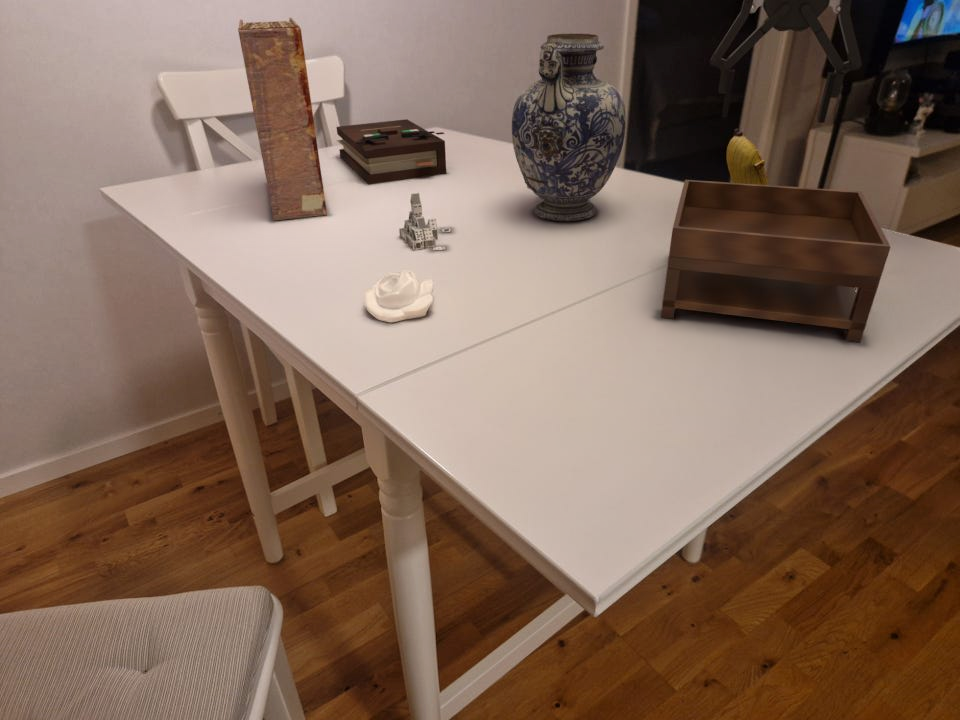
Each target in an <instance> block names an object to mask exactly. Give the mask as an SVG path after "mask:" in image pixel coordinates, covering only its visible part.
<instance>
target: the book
mask: <svg viewBox="0 0 960 720" xmlns="http://www.w3.org/2000/svg"><path fill="white" fill-rule="evenodd" d="M288 19H289V20H281V21H280V20H279V21H277V20H276V21H255V22H253V21H252V22H244V21H243V19H239V23H238V27H237V31H238V38H239V41H240V47H241V53H242V58H243V63H244V68H245V74H246V79H247V85H248V90H249V95H250V101H251V106H252V111H253V112H252V113H253V116H254V122H255V127H256V133H257V137H258V142H259V148H260V153H261V159H262V164H263V170H264V174H265V175H264V176H265V180H266V186H267V191H268V196H269V201H270V202H269V203H270V206H271V212H272V218H273V221H274V222H275V221H283V220H292V219H300V218H301V219H302V218H311V217H319V216H327V215H328V213H327V212H328V211H327V204H326V198H325V191H324V184H323V177H322V169H321V163H320V156H319V149H318V148H319V147H318V141H317V133H316V127H315V119H314V112H313V106H312V98H311V92H310V85H309V78H308V70H307V69H308V68H307V64H306V63H307V62H306V57H305V56H306V55H305V49H304V41H303V35H302V29H301V26H299V24H298V23H297V22H296V21H295V20H294V19H293V17H289V18H288Z"/></svg>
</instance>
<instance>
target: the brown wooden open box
mask: <svg viewBox="0 0 960 720" xmlns="http://www.w3.org/2000/svg"><path fill="white" fill-rule="evenodd" d="M890 250H891V244H890V243H889V241H888V239H887V237H886V235H885V232H884V231H883V229H882V227H881V225H880V224H879V222H878V220H877V217H876V216H875V214H874V212H873V210H872V208H871V206H870V204H869V203H868V200H867V199H866V196H865V195H864V192H863V191H861V190H859V191H858V190H846V189H844V190H843V189H832V188H831V189H830V188H815V187H801V186H800V187H799V186H786V185H783V186H782V185H770V184H768V185H757V184H742V183H733V182H725V181H713V180H711V181H709V180H696V179H695V180H694V179H684V181H683V185H682V190H681V193H680V197H679V202H678V205H677V209H676V213H675V218H674V221H673V225H672V230H671V237H670V246H669V253H668V260H667V266H666V275H665V281H664V288H663V289H664V290H663V297H662V305H661V312H660V318H663V319H671V320H673V319H674V316H675V311H676V309H681V310H688V311H696V312H706V313H713V314H721V315H730V316H738V317H746V318H754V319H762V320H771V321H780V322H785V323H786V322H787V323H795V324H805V325H811V326H818V327H819V326H820V327H829V328H836V329H837V328H838V329H845V330H844V335H843V336H844V339H845V341H846V342H853V343H861V341H862V338H863V335H864V333H865V332H864V331H865V329H866V326H867V323H868V319H869V316H870V314H871V310H872V307H873V303H874V301H875V297H876V295H877V290H878V288H879V285H880V282H881V277H882V276H883V272H884V269H885V265H886V263H887V259H888V256H889V253H890ZM856 289H857V291H856Z"/></svg>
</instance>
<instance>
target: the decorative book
mask: <svg viewBox="0 0 960 720" xmlns="http://www.w3.org/2000/svg"><path fill="white" fill-rule="evenodd" d="M336 134H337V136H339V138H341V139H337V140H336V142H337V143H339V144H340V145H341V146H342V147H343V148H340V149H338V150H339V157H340V158H341V159H342V160H343V161H344V162H345V163H346V164H347V165H348V166H349V167H350V168H351V169H352V170H353V171H354V172H355V173H356V174H357V175H358V176H359V177H360V178H361V179H363V180H364V181H365V182H366V184H368V185H375V184H382V183H389V182H397V181H403V180H411V179H412V180H413V179H419V178H426V177H432V176H440V175H446V174H447V157H446V140H445V139H443V138H440V137H439V136H437V135H446V133H445V132H443V131H441V132H435V131H433V130H432V131H428V130H427V129H425V128H423V127H421V126H419V125H418V124H416V123H414V122H413V121H411V120H409V119H407V118H406V119H405V118H404V119H398V120H397V119H396V120H386V121H377V122H368V123H359V124H358V123H357V124H350V125H349V124H348V125H340V126H339V125H338V126H336ZM435 134H436V135H435Z"/></svg>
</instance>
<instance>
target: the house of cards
mask: <svg viewBox="0 0 960 720" xmlns="http://www.w3.org/2000/svg"><path fill="white" fill-rule="evenodd" d="M409 200H410V210H411V211H408V212H409V213H408V219H405V220H404V224H403V225H404V226H403V227H402V228H399V229H398V233H399V237H401V238H402V239H403V240H404V241H405V243H406V244H408V245H409V246H410V247H411V248H412V251H418V250H424V249H428V248H432V250H433V251H442V250H446V248H445V246H437V241H438V240H439V235H438V233H439V232H438V230H439V226H438V222H437V218H429V219H427V224H426V221H425V217H424V215H423V205H422V204H423V203H422V200H421V195H420V192H417V193H410V199H409ZM442 233H451V228H450V227H447V228H446V227H445V228H442Z"/></svg>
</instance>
